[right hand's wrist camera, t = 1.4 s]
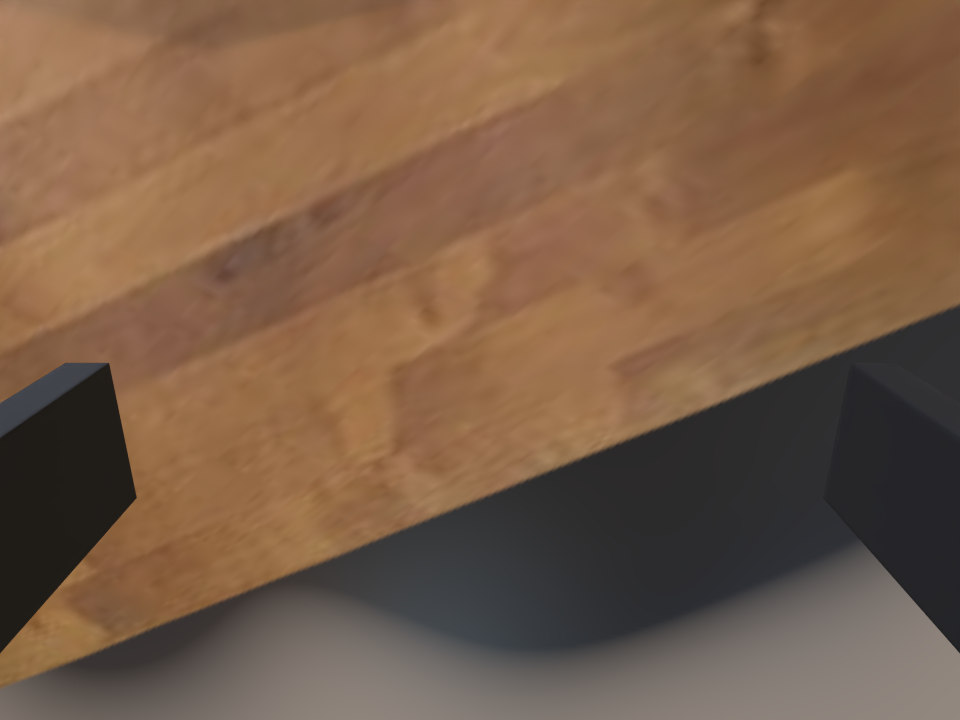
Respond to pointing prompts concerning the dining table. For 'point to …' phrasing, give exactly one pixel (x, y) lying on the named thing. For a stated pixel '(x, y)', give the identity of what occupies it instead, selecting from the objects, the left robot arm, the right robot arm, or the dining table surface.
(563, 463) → the dining table surface
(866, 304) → the dining table surface
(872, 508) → the right robot arm
